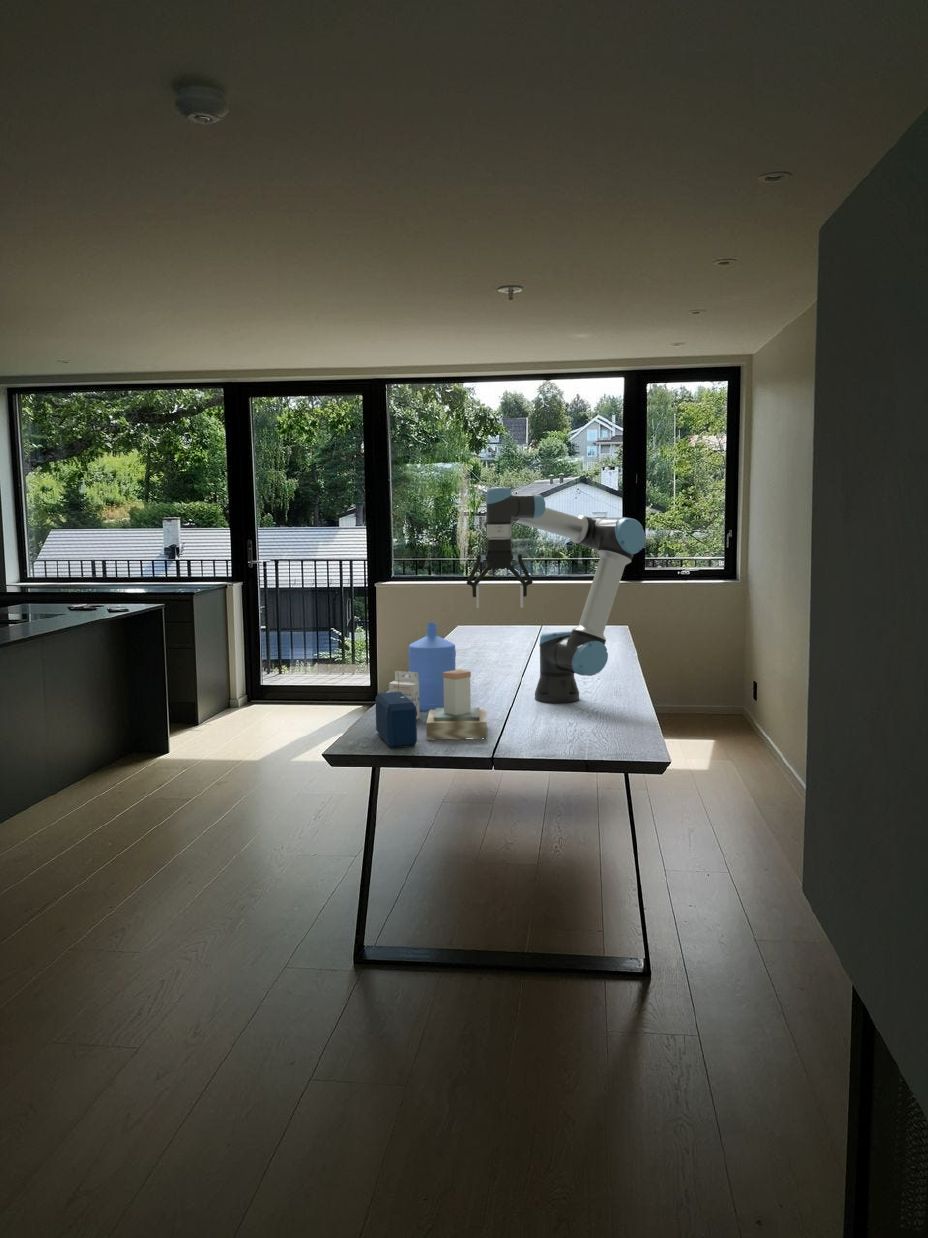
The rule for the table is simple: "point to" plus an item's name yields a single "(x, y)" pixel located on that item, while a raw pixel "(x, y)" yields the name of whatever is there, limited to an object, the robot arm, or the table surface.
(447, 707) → the plate
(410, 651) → the water jug
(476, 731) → the birch tray
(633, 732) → the table surface
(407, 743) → the radio
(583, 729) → the table surface
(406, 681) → the ink cartridge box
